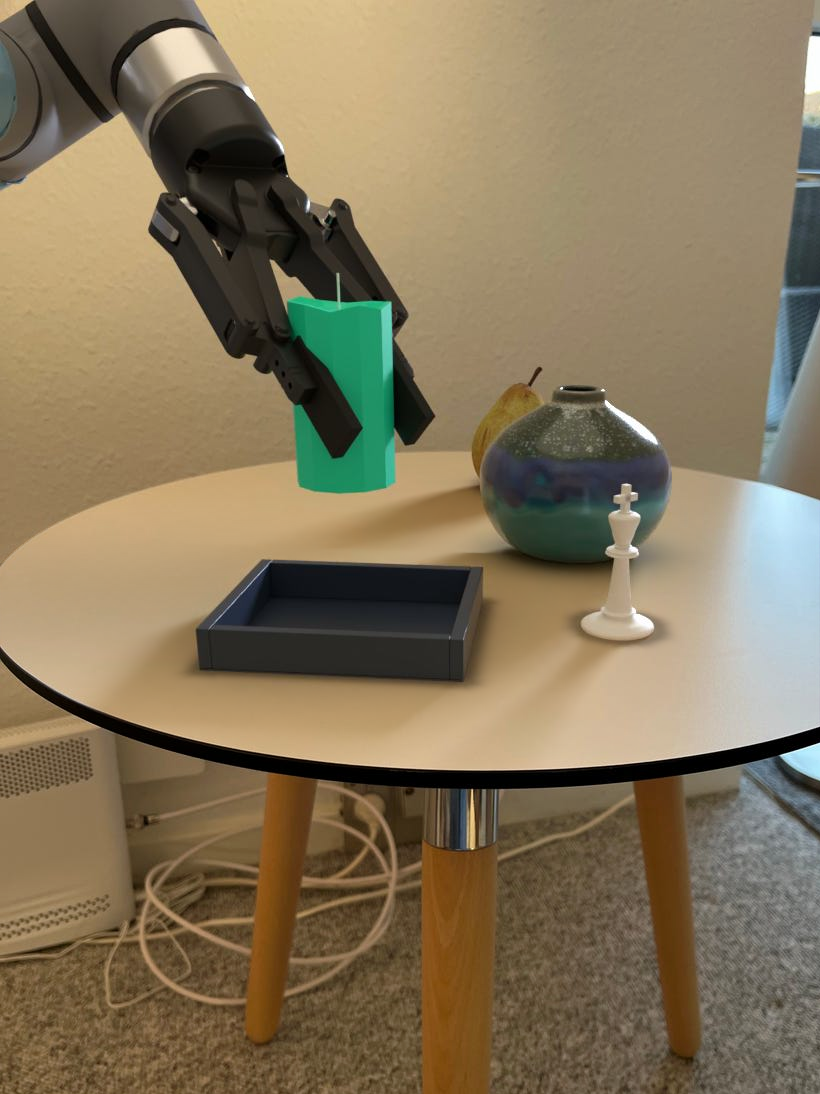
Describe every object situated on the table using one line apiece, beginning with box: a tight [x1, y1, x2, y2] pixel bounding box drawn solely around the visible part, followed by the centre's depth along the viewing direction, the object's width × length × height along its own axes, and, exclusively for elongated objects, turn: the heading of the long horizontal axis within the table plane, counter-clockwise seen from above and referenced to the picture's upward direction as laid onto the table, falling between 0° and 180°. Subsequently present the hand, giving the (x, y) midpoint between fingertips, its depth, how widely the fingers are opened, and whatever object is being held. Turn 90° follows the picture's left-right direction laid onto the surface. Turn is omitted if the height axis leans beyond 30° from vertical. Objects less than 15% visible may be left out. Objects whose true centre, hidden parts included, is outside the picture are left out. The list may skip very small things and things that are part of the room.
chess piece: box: [580, 484, 655, 642], centre depth 65 cm, size 5×5×10 cm
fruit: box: [471, 366, 546, 480], centre depth 103 cm, size 9×9×12 cm
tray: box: [195, 558, 484, 683], centre depth 65 cm, size 16×14×3 cm
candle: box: [286, 273, 396, 495], centre depth 60 cm, size 6×6×12 cm
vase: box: [478, 384, 673, 564], centre depth 81 cm, size 15×15×13 cm
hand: (384, 436), depth 58 cm, fingers closed on candle, 5 cm apart
